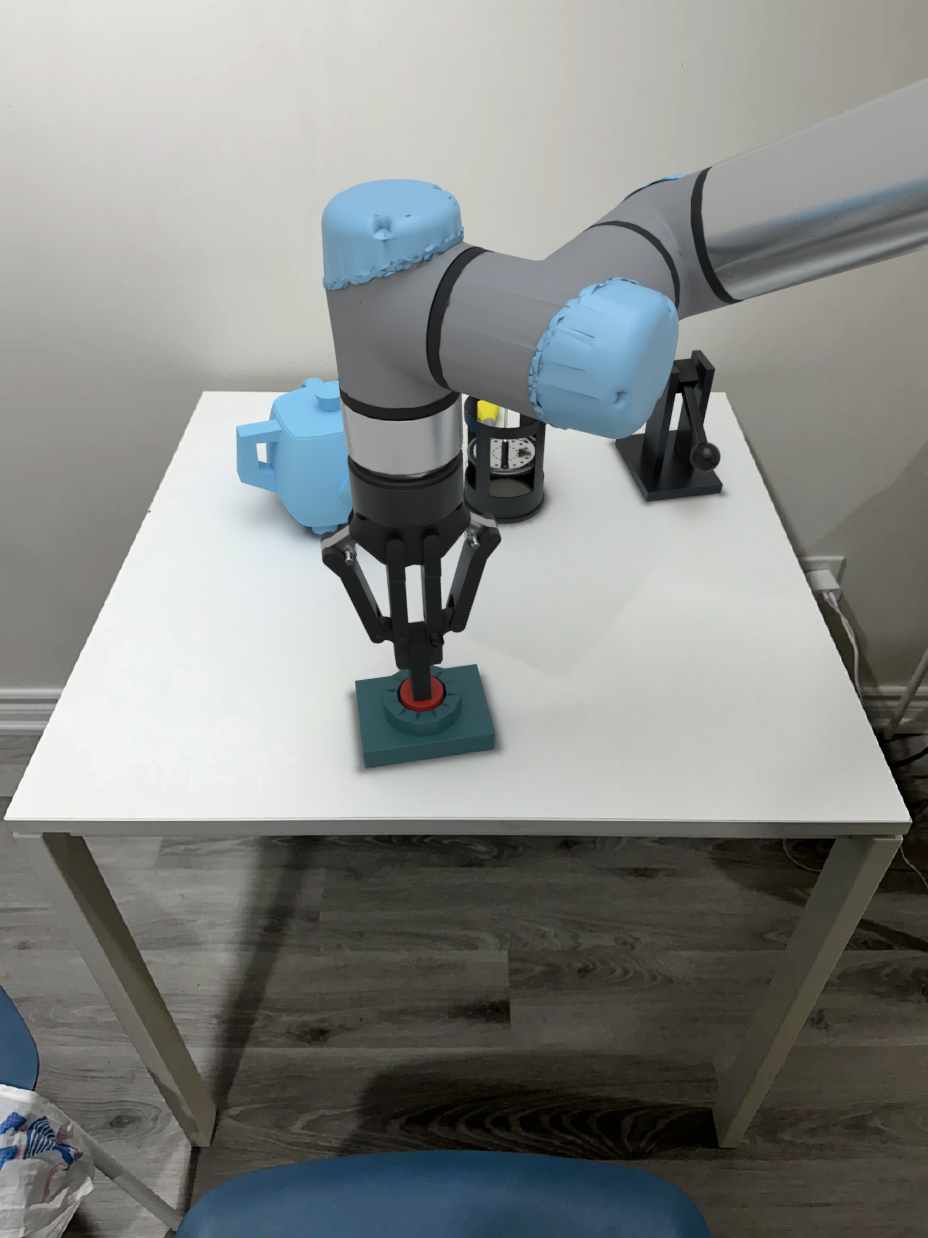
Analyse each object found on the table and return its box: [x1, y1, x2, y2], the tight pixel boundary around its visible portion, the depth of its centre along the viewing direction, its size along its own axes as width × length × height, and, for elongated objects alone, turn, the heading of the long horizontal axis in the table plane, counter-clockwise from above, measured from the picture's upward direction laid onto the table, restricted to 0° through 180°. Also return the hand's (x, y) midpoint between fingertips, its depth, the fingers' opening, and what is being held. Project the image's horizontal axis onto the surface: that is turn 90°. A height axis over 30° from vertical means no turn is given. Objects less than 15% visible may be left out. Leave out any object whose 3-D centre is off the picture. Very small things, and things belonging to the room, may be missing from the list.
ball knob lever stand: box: [614, 349, 724, 502], centre depth 97 cm, size 12×9×14 cm
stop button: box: [400, 676, 443, 712], centre depth 72 cm, size 4×4×2 cm
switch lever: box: [673, 357, 722, 473], centre depth 92 cm, size 13×3×3 cm, turn 10°
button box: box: [354, 663, 496, 769], centre depth 73 cm, size 8×11×4 cm
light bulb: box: [478, 400, 502, 427], centre depth 108 cm, size 3×6×4 cm, turn 4°
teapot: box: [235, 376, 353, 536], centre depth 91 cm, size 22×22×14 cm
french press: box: [463, 395, 547, 524], centre depth 90 cm, size 12×9×23 cm
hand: (420, 687), depth 71 cm, fingers closed
